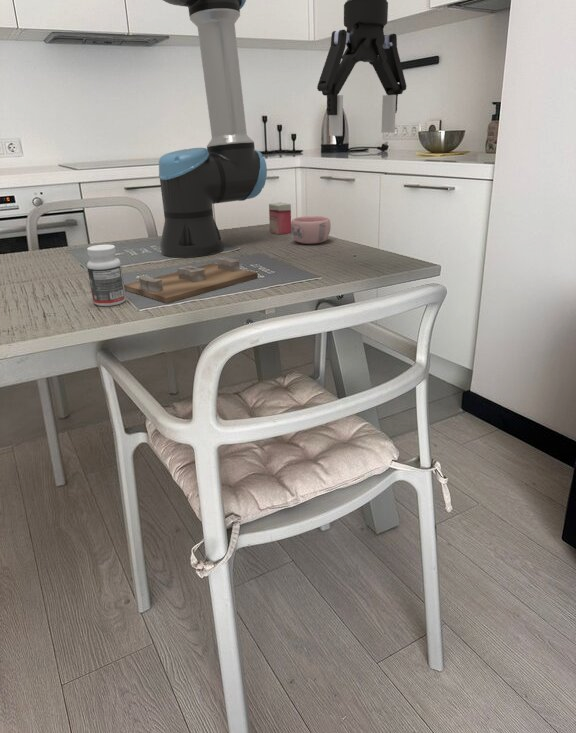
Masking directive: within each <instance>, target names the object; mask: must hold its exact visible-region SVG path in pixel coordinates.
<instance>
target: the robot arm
mask: <svg viewBox="0 0 576 733" xmlns="http://www.w3.org/2000/svg"><path fill="white" fill-rule="evenodd" d="M162 1H164V2H165V3H167V4H170V5H173V6H180V7H186V8H188V14H189V20H190V22H192V24H194V25H195V26H196V27H197V32H198V42H199V50H200V58H201V63H202V72H203V79H204V80H203V81H204V86H205V87H204V88H205V94H206V104H207V110H208V119H209V127H210V134H211V139H210V141H209V142H208V143H207V145H206V147H192V148H184V149H179V150H175V151H171V152H167V153H165V154H163V155H161V156H160V157H159V160H158V178H159V182H160V191H161V199H162V208H163V209H162V210H163V216H164V223H163V227H162V228H163V229H162V234H161V240H160V243H159V244H160V254H162V255H163V256H168V257H172V258H194V257H195V258H196V257H202V256H203V257H204V256H210V255H214V254H217V253H220V252H222V251H223V249H224V244H223V238H222V236H221V233H220V232H219V229H218V225H217V224H216V221H215V217H214V210H213V209H214V208H213V207H214V206H213V205H214V204H222V203H229V202H230V203H231V202H241V201H246V200H250V199H254V198H256V197H257V196H259V195H260V194H261V192H262V190H263V189H264V188H265V185H266V181H267V175H268V174H267V173H268V171H267V170H268V168H267V163H266V162H267V161H266V159H265V158H264V156H263V153H262V152H261V151H258V150H257V149H255V141H254V140H253V138H251V137H249V134H248V133H247V132H248V131H247V123H246V122H247V121H246V115H245V107H244V104H245V103H244V98H243V97H244V96H243V89H242V78H241V70H240V69H241V68H240V60H239V52H238V44H237V36H236V25H235V24H236V23H237V21H238V20H239V18H240V17H241V9H243V8H244V5H245V4H246V1H247V0H162ZM388 11H389V2H388V0H346V1H345V2H344V4H343V26H344V27H345V28H346V29H340V30H339V29H338V30H333V31H332V32H331V38H330V47H329V49H328V50H329V51H328V53H327V55H326V58H325V62H324V65H323V68H322V71H321V73H320V74H321V75H320V77H319V80H318V83H317V86H316V89H317V91H318V92H321V94H322V95H323V97H324V96H326V115H327V116H328V129H329V130H328V133H329V134H328V137H329V136H332V137H333V136H334V137H343V132H344V129H343V127H344V126H343V125H344V124H343V123H344V122H343V121H344V120H343V119H344V118H343V117H344V95H343V94H341V95H339V94H340V92H341V90H342V89H343V87H344V85H345V83H346V82H347V80H348V78H349V76H350V74H351V73H352V71H353V70H354V67H355V66H356V64H357V63H358V62H363V63H369V64H370V65H371V66H372V67H373V70H374V71H375V74H376V75H377V77H378V79H379V81H380V83H381V85H382V88H383V89H384V91H385V94H383V95H382V104H381V105H382V106H381V108H382V110H381V129H380V130H381V132H380V133H383V134H384V133H388V134H389V133H390V134H392V133H395V129H396V114H397V111H398V97H399V95H402V94H403V93H404V92H405V91H406V90H407V83H406V79H405V73H404V70H403V66H402V62H401V58H400V55H399V49H398V41H397V40H398V38H397V37H398V36H397V33H388V34H385V33H384V28H385V27H386V25H387V24H388V20H389V19H388V18H389V12H388Z"/></svg>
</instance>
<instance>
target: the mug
mask: <svg viewBox="0 0 576 733" xmlns="http://www.w3.org/2000/svg"><path fill="white" fill-rule="evenodd" d="M331 226H332V225H331V220H330V218H329V217H328V216H321V215H320V216H319V215H310V216H309V215H307V216H306V215H305V216H299V217H294V218H292V219H291V234H292V236H293V239H294V240H295V241H296V242H297V243H300V244H304V245H315V244H320V243H321V244H322V243H324V242H326V241H327V240H328V238H329V235H330V232H331Z"/></svg>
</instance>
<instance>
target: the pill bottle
mask: <svg viewBox="0 0 576 733" xmlns="http://www.w3.org/2000/svg"><path fill="white" fill-rule="evenodd" d="M86 250H87V256H88V258H89V260H88V261H87V263H86V264H87V265H86V268H87V273H88V279H89V285H90V291H91V296H92V302H93V304H95V305H96V306H99V307H111V306H117V305H121V304H123V303H124V302H126V299H127V294H126V290H125V287H124V285H125V283H124V282H125V281H124V277H123V276H124V274H123V269H122V263H121V260H120V259H119V258H118V257H116V253H117V250H116V246H115V245H113V244H97V245H91V246H89V247H87V248H86Z"/></svg>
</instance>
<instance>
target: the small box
mask: <svg viewBox="0 0 576 733" xmlns="http://www.w3.org/2000/svg"><path fill="white" fill-rule="evenodd" d="M268 211H269V212H268V213H269V214H268V215H269V232H270V233H271V234H276V235H287V234H292V231H291V222H292V204H291V203H287V202H273V203H268Z"/></svg>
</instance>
